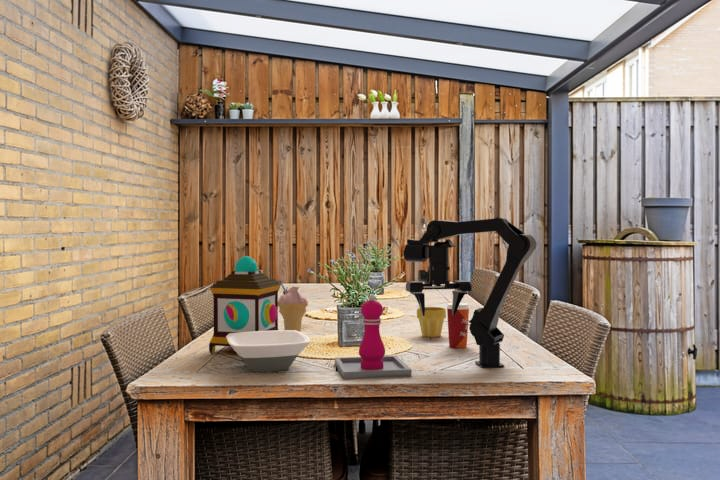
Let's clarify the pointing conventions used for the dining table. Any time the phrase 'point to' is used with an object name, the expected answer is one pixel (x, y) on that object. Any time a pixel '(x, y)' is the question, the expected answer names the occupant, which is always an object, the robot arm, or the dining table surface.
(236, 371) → the dining table surface
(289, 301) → the ice cream cone
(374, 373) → the slate tray
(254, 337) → the bowl
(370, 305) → the pepper mill
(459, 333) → the paper cup
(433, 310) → the plant pot
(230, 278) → the decorative lantern
